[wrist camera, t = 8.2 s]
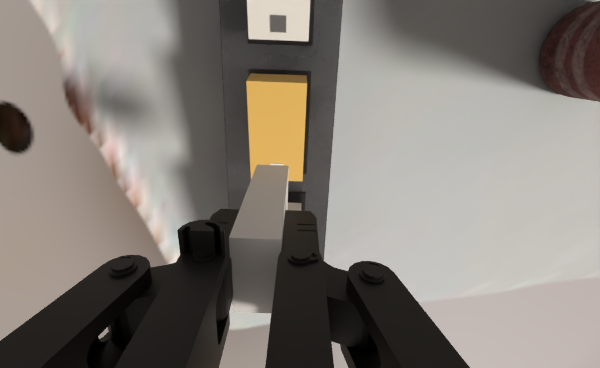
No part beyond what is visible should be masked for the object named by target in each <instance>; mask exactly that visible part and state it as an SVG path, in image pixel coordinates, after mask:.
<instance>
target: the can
mask: <svg viewBox="0 0 600 368" xmlns="http://www.w3.org/2000/svg"><path fill="white" fill-rule="evenodd" d="M540 66H541V73H542V76H543V78H544V80H545V82H546V84H547V86H548V87H550V88H551V89H552V90H553V91H555V92H556V93H557V94H561V95H564V96H568V97H573V98H580V99H586V100H593V101H599V102H600V1H598V2H592V3H589V4H586V5H584V6H581V7H579V8H576V9H574V10H573V11H572V12H570V13H569V14H568V15H566V16H565V17H564V18H562V19H561V20H560V21H559V23H558V24H557V25H556V26H555V27H554V29H553V30H552V31H551V32H550V34H549V35H548V37H547V39H546V41H545V43H544V45H543V47H542V52H541V57H540Z"/></svg>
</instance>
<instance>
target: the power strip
mask: <svg viewBox="0 0 600 368" xmlns="http://www.w3.org/2000/svg"><path fill="white" fill-rule="evenodd" d="M219 5H220V27H221V48H222V70H223V91H224V113H225V134H226V156H227V177H228V199H229V209H240V207H241V205H242V202H243V200H244V197H245V194H246V192H247V189H248V187H249V184H250V181H251V171H250V149H249V128H248V106H247V85H246V81H247V79H248V77H249V76H250V74H251V73H255V74H281V75H307V97H306V118H305V140H304V161H303V181H288V203H301V211H311V212H312V213H313V214H314V215H315V216H316V219H317V230H318V231H317V232H318V241H319V251H320V254H321V256H322V258H323V261H324V248H325V234H326V221H327V207H328V194H329V180H330V167H331V153H332V140H333V126H334V113H335V99H336V86H337V72H338V59H339V45H340V32H341V19H342V5H343V0H310V18H309V40H308V41H285V40H260V39H249V37H248V15H247V0H219Z"/></svg>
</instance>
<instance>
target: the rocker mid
mask: <svg viewBox="0 0 600 368" xmlns="http://www.w3.org/2000/svg"><path fill="white" fill-rule="evenodd" d="M246 85H247V106H248V128H249V149H250V171H251V179H252V176H253V174H254V171H255V168H256V166H257V165H283V166H289V172H288V181H303V161H304V140H305V118H306V97H307V75H281V74H255V73H251V74H250V76H249V77H248V79H247V81H246Z"/></svg>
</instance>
